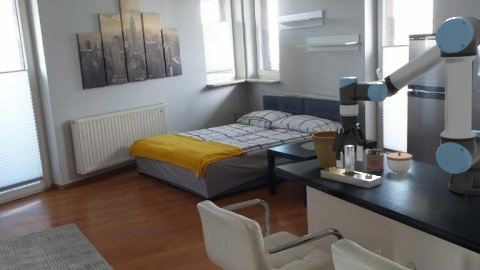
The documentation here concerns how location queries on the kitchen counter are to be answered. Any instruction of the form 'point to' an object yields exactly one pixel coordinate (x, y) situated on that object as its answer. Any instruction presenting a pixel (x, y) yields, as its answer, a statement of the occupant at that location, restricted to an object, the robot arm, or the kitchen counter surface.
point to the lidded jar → (399, 162)
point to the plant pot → (325, 148)
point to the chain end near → (363, 180)
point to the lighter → (374, 160)
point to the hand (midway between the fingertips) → (350, 164)
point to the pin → (349, 160)
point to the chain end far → (335, 173)
